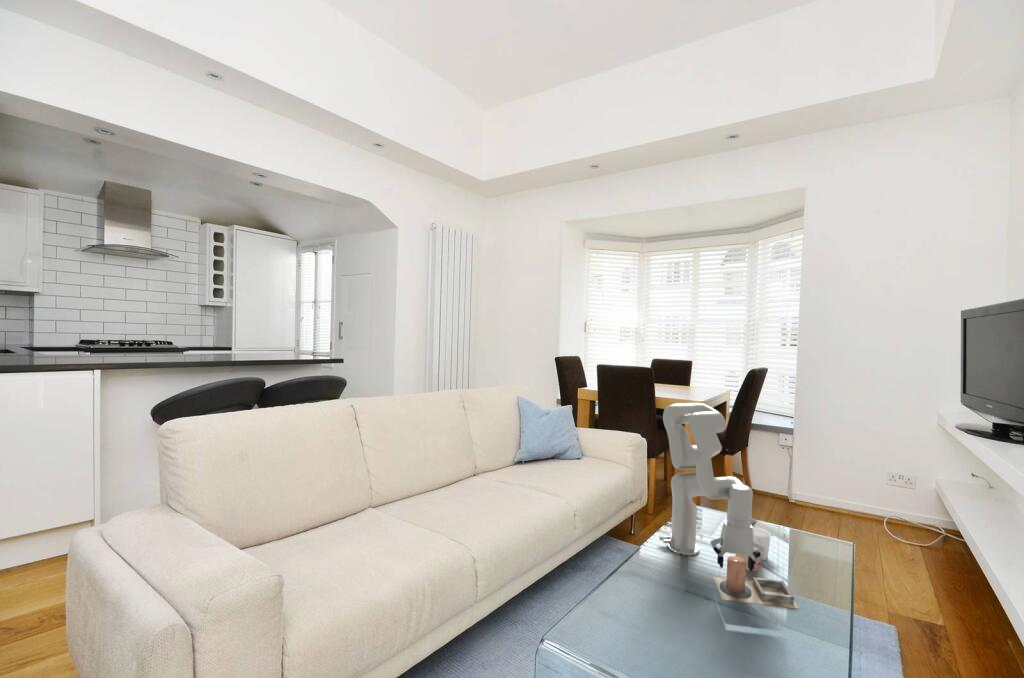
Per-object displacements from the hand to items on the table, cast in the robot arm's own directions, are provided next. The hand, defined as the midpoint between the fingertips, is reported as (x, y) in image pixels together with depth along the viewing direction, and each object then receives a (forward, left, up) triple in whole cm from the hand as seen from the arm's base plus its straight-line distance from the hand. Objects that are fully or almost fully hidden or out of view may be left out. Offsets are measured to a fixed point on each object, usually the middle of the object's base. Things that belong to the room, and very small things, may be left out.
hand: (735, 567), depth 170 cm
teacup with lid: (+10, +19, -9) cm, 24 cm away
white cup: (+16, +28, -9) cm, 34 cm away
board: (+6, -1, -9) cm, 11 cm away
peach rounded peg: (0, -1, -7) cm, 7 cm away
